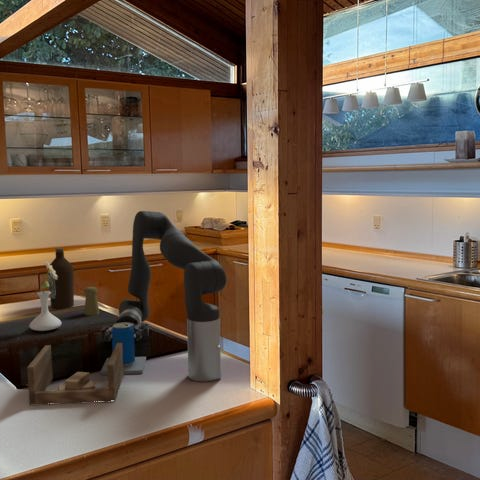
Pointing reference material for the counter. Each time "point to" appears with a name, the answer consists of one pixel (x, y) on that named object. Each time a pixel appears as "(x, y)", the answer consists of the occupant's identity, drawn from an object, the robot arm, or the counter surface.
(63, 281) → the olive oil
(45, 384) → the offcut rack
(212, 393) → the counter surface
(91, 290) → the cork
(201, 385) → the counter surface
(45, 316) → the flower in vase
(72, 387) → the upper offcut
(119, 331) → the beverage can
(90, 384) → the lower offcut
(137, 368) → the grey mat
